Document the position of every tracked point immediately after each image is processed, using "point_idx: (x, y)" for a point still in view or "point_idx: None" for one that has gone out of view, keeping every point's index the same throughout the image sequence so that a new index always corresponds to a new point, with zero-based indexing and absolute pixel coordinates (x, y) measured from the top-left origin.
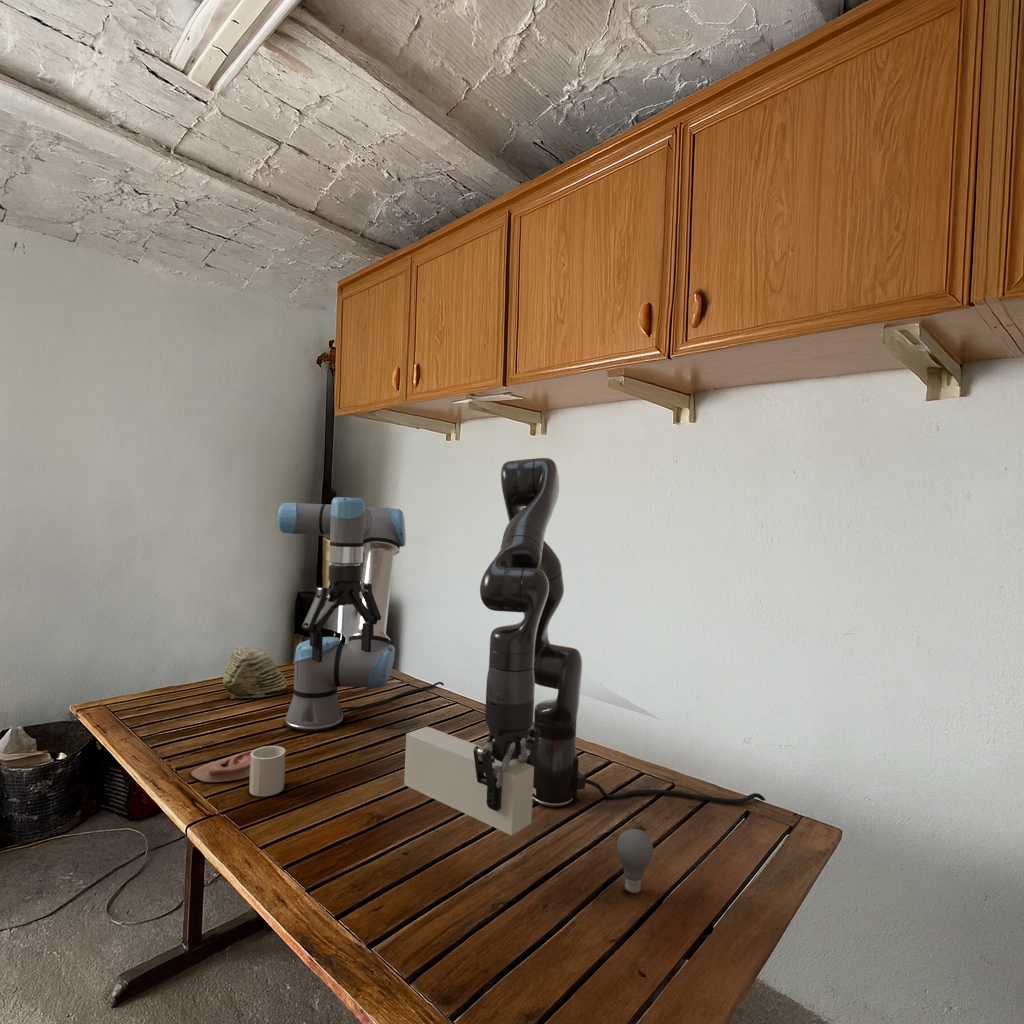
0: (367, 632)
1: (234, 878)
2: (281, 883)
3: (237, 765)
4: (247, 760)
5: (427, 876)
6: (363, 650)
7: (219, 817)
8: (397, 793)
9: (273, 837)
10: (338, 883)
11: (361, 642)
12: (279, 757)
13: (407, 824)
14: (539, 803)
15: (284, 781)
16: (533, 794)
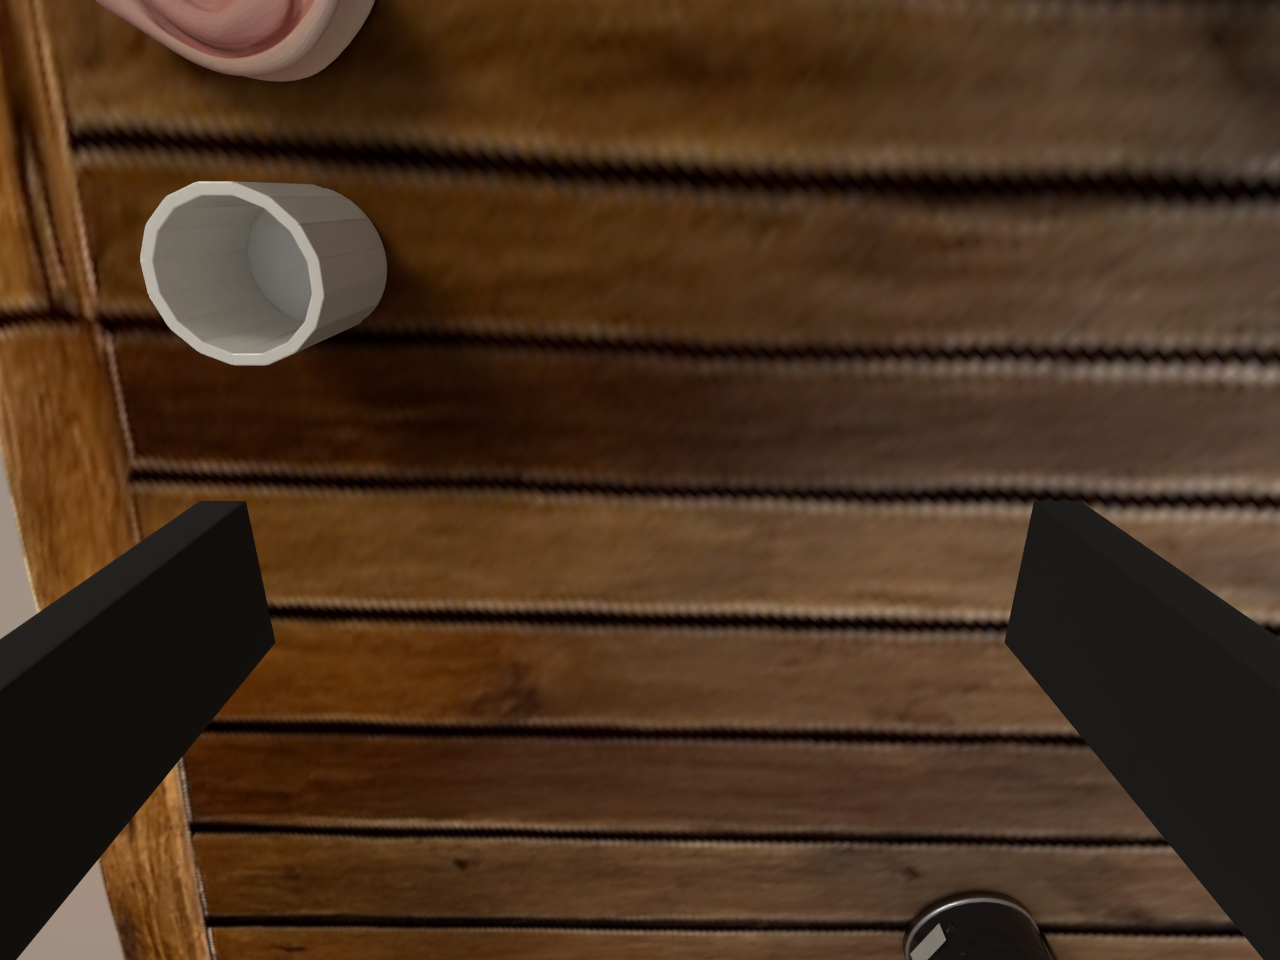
0: (1203, 830)
1: None
2: None
3: (210, 29)
4: (274, 5)
5: (442, 945)
6: (1026, 556)
7: (87, 349)
8: (673, 633)
9: None
10: (264, 849)
11: (1100, 559)
12: (266, 364)
13: (560, 781)
14: (903, 943)
15: (370, 308)
16: (920, 936)
